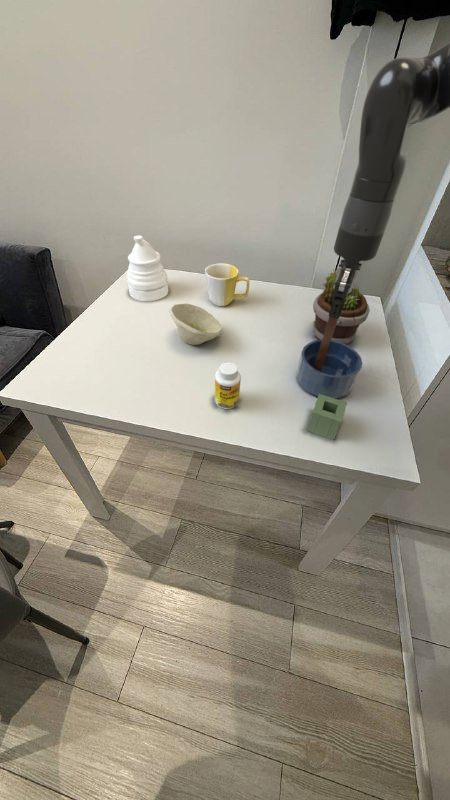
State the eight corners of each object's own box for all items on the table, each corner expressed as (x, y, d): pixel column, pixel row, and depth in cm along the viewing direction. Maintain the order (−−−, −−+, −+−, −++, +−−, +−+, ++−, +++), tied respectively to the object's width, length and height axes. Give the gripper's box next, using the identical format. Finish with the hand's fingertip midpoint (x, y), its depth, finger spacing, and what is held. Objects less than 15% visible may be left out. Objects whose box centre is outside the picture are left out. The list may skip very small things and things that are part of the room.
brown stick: (322, 367, 80) (346, 291, 65) (320, 371, 79) (345, 295, 64) (315, 364, 80) (337, 289, 66) (313, 369, 79) (336, 293, 65)
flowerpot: (361, 329, 98) (387, 263, 83) (352, 358, 88) (380, 289, 74) (313, 317, 102) (330, 251, 87) (300, 343, 92) (316, 275, 77)
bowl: (229, 351, 88) (231, 319, 81) (178, 360, 85) (175, 328, 78) (213, 321, 98) (214, 291, 91) (167, 329, 95) (163, 297, 88)
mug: (200, 306, 104) (200, 275, 96) (211, 291, 111) (211, 261, 103) (242, 314, 101) (244, 282, 94) (250, 299, 108) (253, 268, 100)
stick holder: (338, 420, 73) (347, 402, 68) (333, 440, 69) (341, 421, 65) (312, 412, 74) (319, 393, 70) (306, 430, 70) (312, 412, 66)
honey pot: (160, 303, 104) (153, 245, 91) (123, 297, 106) (110, 240, 93) (173, 285, 113) (168, 229, 100) (139, 280, 115) (129, 224, 102)
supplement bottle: (216, 411, 74) (216, 377, 66) (213, 393, 77) (213, 360, 70) (240, 409, 74) (243, 375, 67) (236, 391, 78) (239, 358, 71)
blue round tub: (355, 372, 84) (365, 349, 79) (346, 408, 75) (357, 384, 70) (303, 357, 88) (309, 334, 82) (289, 389, 79) (295, 366, 74)
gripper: (380, 243, 51) (347, 336, 63) (388, 217, 60) (358, 303, 72) (332, 235, 53) (309, 326, 65) (347, 210, 61) (324, 295, 74)
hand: (335, 313), depth 69 cm, fingers closed on brown stick, 2 cm apart
